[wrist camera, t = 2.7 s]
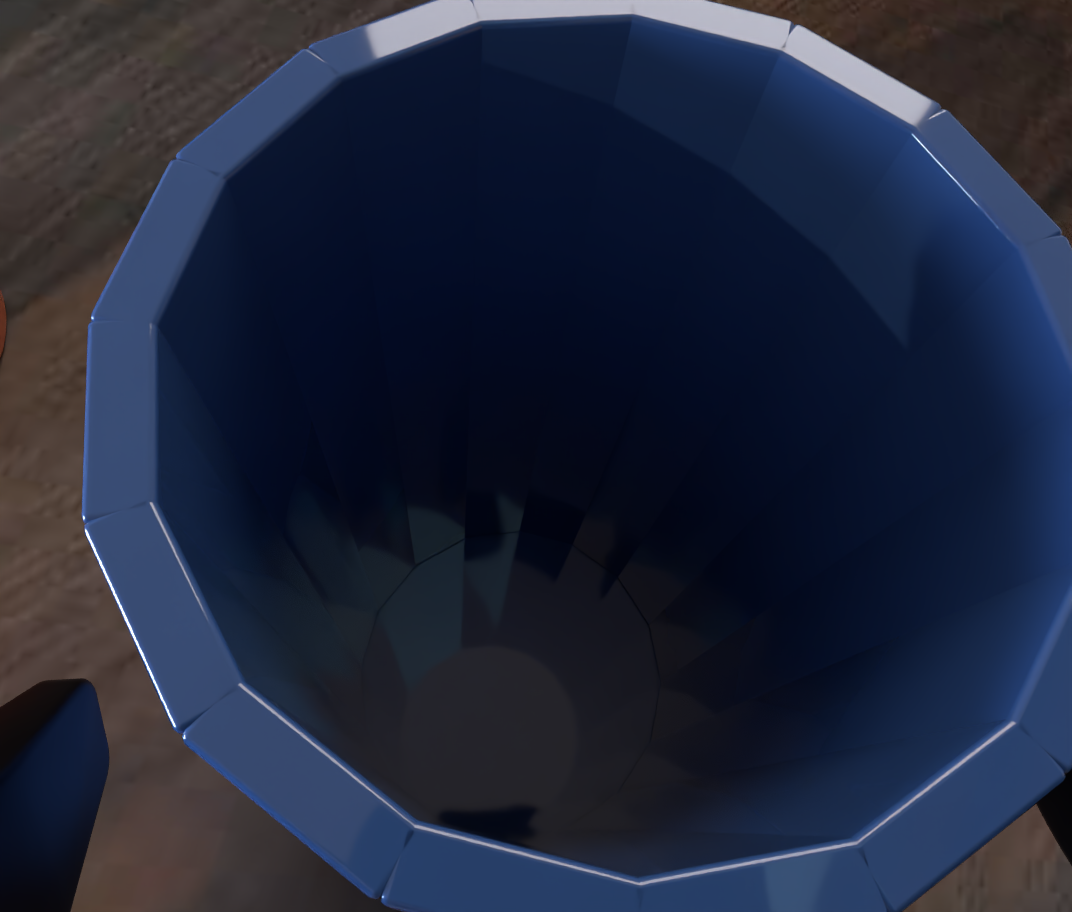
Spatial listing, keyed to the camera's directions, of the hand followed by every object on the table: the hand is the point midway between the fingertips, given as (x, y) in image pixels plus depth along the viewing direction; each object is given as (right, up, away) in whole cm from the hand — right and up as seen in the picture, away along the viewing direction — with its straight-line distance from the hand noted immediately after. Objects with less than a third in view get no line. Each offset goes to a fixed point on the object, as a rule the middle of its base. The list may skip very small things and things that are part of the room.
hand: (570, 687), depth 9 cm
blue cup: (-1, -2, +9) cm, 9 cm away
